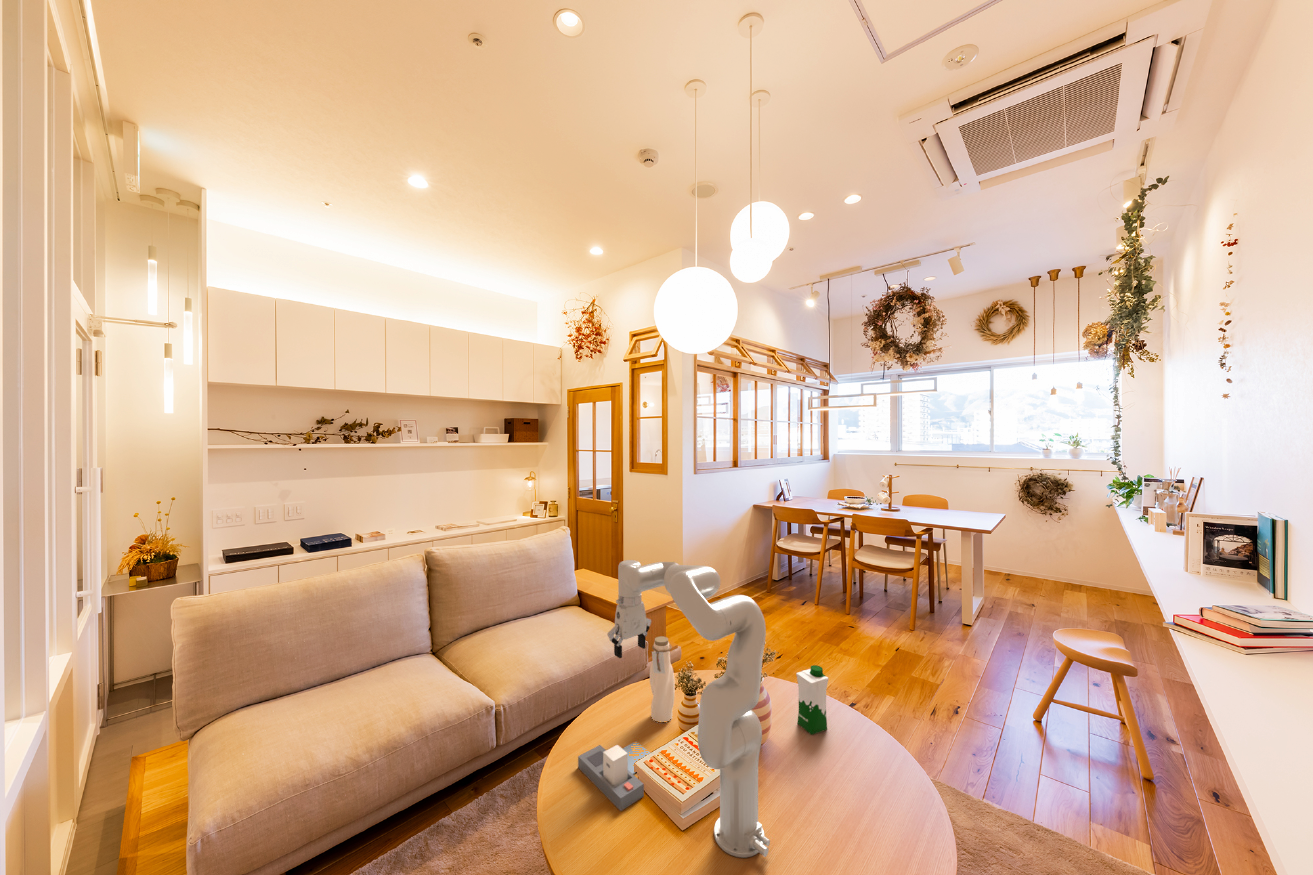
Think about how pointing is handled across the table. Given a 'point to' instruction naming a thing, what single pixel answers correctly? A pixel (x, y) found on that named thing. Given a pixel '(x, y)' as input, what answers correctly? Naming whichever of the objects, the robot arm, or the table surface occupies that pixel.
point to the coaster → (631, 758)
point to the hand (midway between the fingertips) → (630, 651)
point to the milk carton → (812, 699)
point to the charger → (615, 766)
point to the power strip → (618, 796)
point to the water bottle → (662, 681)
